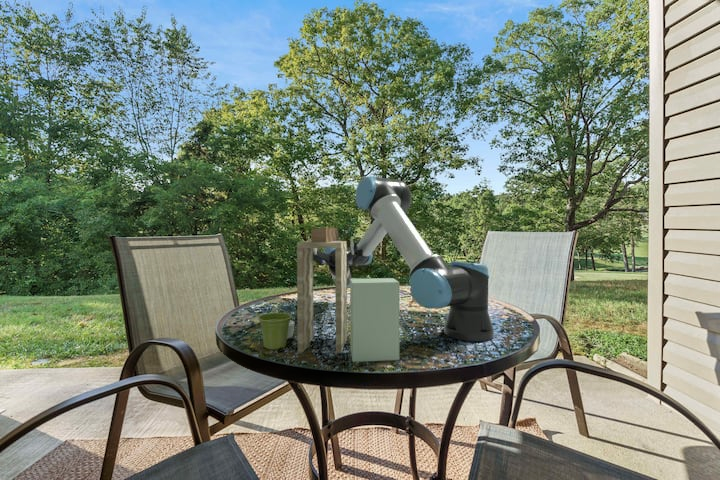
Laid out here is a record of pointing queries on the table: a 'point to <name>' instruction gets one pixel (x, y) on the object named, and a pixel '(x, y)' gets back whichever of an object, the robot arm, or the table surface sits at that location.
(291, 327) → the ramekin
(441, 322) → the table surface
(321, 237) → the rail
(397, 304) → the block
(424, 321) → the table surface
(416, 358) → the table surface
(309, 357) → the table surface
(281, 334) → the plant pot
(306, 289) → the bridge
